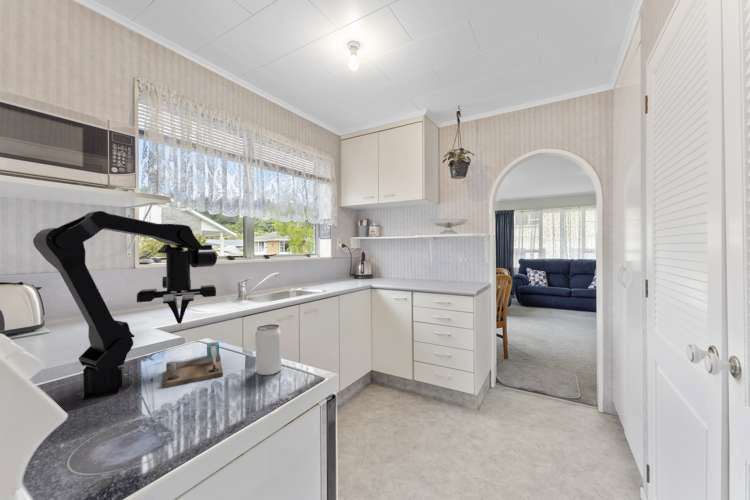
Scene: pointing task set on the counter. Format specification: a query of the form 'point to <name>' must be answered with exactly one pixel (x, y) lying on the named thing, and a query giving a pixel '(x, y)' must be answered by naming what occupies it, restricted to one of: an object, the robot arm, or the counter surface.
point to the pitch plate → (191, 370)
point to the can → (268, 349)
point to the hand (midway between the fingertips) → (179, 323)
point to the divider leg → (213, 352)
